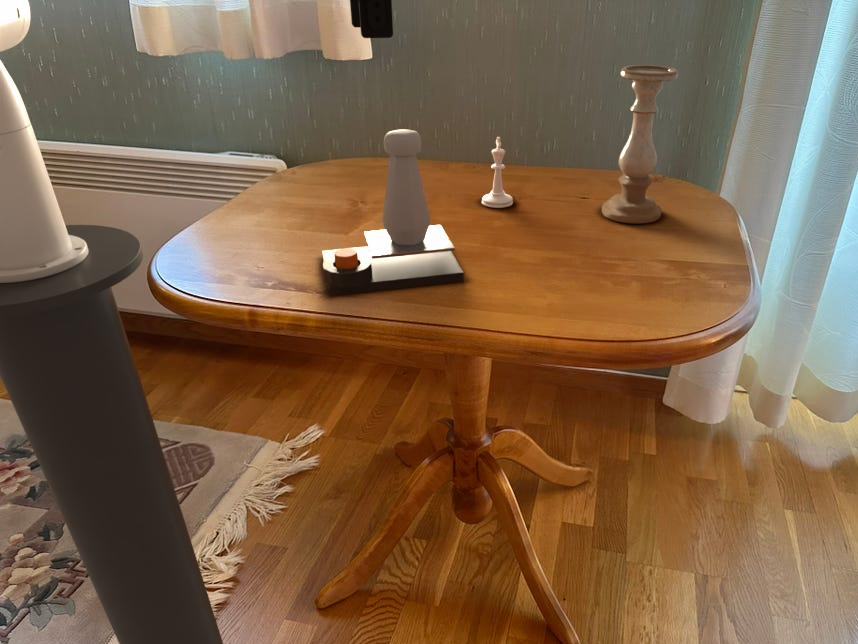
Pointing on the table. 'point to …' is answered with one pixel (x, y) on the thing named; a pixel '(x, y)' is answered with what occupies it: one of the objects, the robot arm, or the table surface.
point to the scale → (390, 272)
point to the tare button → (346, 258)
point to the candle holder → (639, 148)
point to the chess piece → (497, 182)
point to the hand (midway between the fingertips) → (371, 31)
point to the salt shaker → (405, 190)
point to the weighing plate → (385, 247)
